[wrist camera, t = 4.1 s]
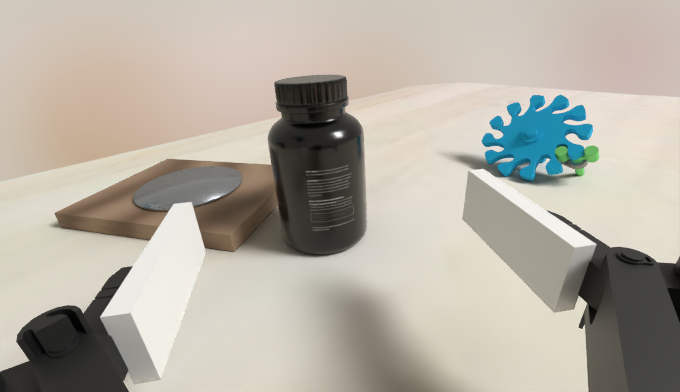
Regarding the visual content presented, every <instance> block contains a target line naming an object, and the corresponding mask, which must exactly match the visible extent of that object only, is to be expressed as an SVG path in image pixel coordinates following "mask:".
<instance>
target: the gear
mask: <svg viewBox="0 0 680 392" xmlns="http://www.w3.org/2000/svg"><path fill="white" fill-rule="evenodd" d="M544 104H545V99H544V96H540V95H533V96H532V97H531V98H530V107H529V109H528V110H527V111H526V113H525V114H524V115H522V116H518V114H519V113H520V112H521V106H520V104H519V103H513V104H510V105H508V106H507V110H508V112H509V114H510V115H511V116H512V120H511V123H510V124H509V125H508V126H503V124H504V123H503V120H502V118H501V117H500V116H497V117H495V118H494V119H492V120H491V121H490V125H491V127H492V128H493V129H495V130H499V131H501V132H502V133H503V134H504V135H503V137H502V138H500V139H495V138H494V137H493V135H492V134H490V133H486V134H485V136H484V137H483V139H482V143H483V145H484V146H486V147H490V146H500V147H503V148H504V150H503V151H501V152H496V151H493V150H488V151H486V153H485V157H486V160H487V162H488V164H493V163H495V162H496V161H498V160H500V159H503V158H514V159H513V161H511V162H505V163H501V164H499V165H498V166H497V167H498V169H499V171H500V173H501V174H502V175H503V176H505V177H507V176H509V175H510V174H511V173H512V171H513V170H514V169H515V168H516V167H517V166H518V165H520V164H522V163H524V162H531V163H530V165H528V166H527V167H524V168H522V169H521V170H520V173H519V174H520V176H521V178H522V179H525V180H530V181H533V180H534V179H535V177H536V174H535V170H536V167H537V165H538V164H539V163H542V162H544V161H545V160H546V158H549V159H551V160H550V161H549V162H548V163H547V165H546V170H547V173H548V174H549V175H555V174H559V173H562V172H563V168H562V164H563V165H566V166H568V167H570V168H573V169H575V172H576V175H579V176H582V175H584V167H585V166H586V165H587V164H588V162H595V161H597V160H598V159H599V151H598V148H597V147H596V146H588V147H587V148H585V150H584V147H583V146H581V145H577V144H573V143H571V142H569V141H568V140H567V139H566V138H565V136H566V135H568V134H570V133H574V134H576V135H577V136H578V137H579V139H581V140H588V139H589V138H590V137H591V135H592V132H593V126H592V125H591V124H583V125H568V124H565V123H563V122H564V121H566V120H569V119H571V120H575V121H583V120H585V119H586V113H585V109H584V107H583V105H579V106H576V107H574V108H573V109H571V110H570V111H567V112H564V113H560V114H552V113H553V112H554V111H557V110H563V109H566V108H567V107H568V106H569V101H568V99H567V98H566V97H564V96H562V95H559V96H557V97H556V98H555V99H554V101H553V102H552V103H551V104H550V105H549V106H548V107H547V108H545V109H543V110H541V111H538V112H536V111H535V110H537V109H538V108H540V107H542V106H543V105H544Z"/></svg>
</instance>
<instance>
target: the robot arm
mask: <svg viewBox="0 0 680 392" xmlns="http://www.w3.org/2000/svg"><path fill="white" fill-rule="evenodd" d="M463 220H464V221H465V222H466V223H467V224H468V225H469V226H470V227H471V228H472V229H473V230H474V231H475V232H476V233H477V234H478V235H479V236H480V237H481V238H482V239H483V240H484V241H485V243H486V244H487V245H488V246H489V247H490V248H491V249H492V250H493V251H494V252H495V253H496V254H497V255H498V256H499V257H500V258H501V259H502V260H503V261H504V262H505V263H506V264H507V265H508V266H509V267H510V268H511V269H512V270H513V271H514V272H515V273H516V274H517V275H518V276H519V277H520V278H521V279H522V280H523V281H524V282H525V283H526V284H527V285H528V286H529V287H530V288H531V290H532V291H533V292H534V293H535V294H536V295H537V296H538V297H539V298H540V299H541V300H542V301H543V302H544V303H545V304H546V305H547V306H548V307H549V308H550V309H551V310H552V311H553V312H560V311H566V310H572V309H574V307H575V304H576V302H577V299H578V296H580V297H581V298H582V299H583V300H585V301H586V302H587V306H586V308H585V311H584V314H583V316H582V319H581V322H580V324H579V327H578V328H581V329H582V328H583V326H584V325H585V332H586V350H587V369H588V387H589V392H680V257H679V259H678V261H677V263H676V264H673V263H658V262H656V261H655V260H654V259H653V258H651V257H650V256H648V255H647V254H644V253H642V252H640V251H637V250H633V249H630V248H624V247H612V248H610V247H609V246H607V245H606V244H604V243H603V242H601V241H600V240H598V239H596V238H595V237H593V236H592V235H590V234H589V233H587V232H586V231H584V230H581V228H579V227H578V226H576V225H575V224H572V222H570V221H569V220H567V219H566V218H564V217H562V216H560V215H558V214H555V213H553V212H550V211H546V210H544V209H543V208H541V207H540V206H538V205H537V204H535V203H534V202H532V201H531V200H529V199H528V198H526V197H525V196H523V195H522V194H520V193H519V192H517V191H516V190H514V189H513V188H511V187H510V186H508V185H507V184H505V183H504V182H502V181H501V180H499V179H498V178H496V177H495V176H493V175H492V174H490V173H489V172H487V171H486V170H484V169H478V170H469V172H468V180H467V188H466V195H465V203H464V211H463ZM205 254H206V251H205V247H204V244H203V240H202V237H201V233H200V230H199V226H198V223H197V219H196V216H195V212H194V209H193V205H192V202H186V203H177V204H173V206H172V207H171V209H170V210H169V212H168V213H167V215H166V216H165V218H164V219H163V221H162V223H161V224H160V226H159V227H158V229H157V230H156V232H155V233H154V235H153V236H152V238H151V240H150V241H149V243H148V244H147V246H146V247H145V249H144V250H143V252H142V253H141V255H140V256H139V258H138V260H137V261H136V263H135V264H134V266H132V267H124V268H121V269H120V270H119V271H117V272H116V273H115V274H114V275H112V276H111V277H110V278H109V279H108V280H107V282H106V283H105V284H104V286H103V287H102V290H101V291H99V293H98V294H97V296H96V297H95V300H93V301H92V303H91V304H90V305H89V307H88V308H87V310H86V311H85V312H84V314H83V313H82V311H81V309H80V308H78V307H77V306H69V305H67V306H62V307H57V308H54V309H52V310H49V311H47V312H44V313H43V314H41V315H39V316H37V317H36V318H34V319H32V320H31V321H30V322H29V323H28V324H26V325H25V326H24V327H23V328H22V329H21V331H20V332H19V333H18V335H17V341H16V342H17V343H18V345H19V346H20V348H21V349H22V350H23V352H24V353H25V355H26V356H27V358H28V359H29V360H30V361H28V362H25V363H23V364H20V365H17V366H14V367H12V368H9V369H6V370H3V371H1V372H0V392H129V391H128V389H127V388H126V386H125V384H124V383H123V381H124V379H125V377H126V374H127V372H128V373H129V375H130V377H131V379H132V381H133V383H134V384H138V383H144V382H150V381H156V380H161V378H162V375H163V372H164V369H165V367H166V364H167V361H168V358H169V355H170V352H171V350H172V347H173V344H174V341H175V338H176V336H177V333H178V330H179V327H180V324H181V321H182V319H183V316H184V313H185V310H186V307H187V305H188V302H189V299H190V296H191V293H192V290H193V288H194V285H195V282H196V279H197V276H198V274H199V271H200V268H201V265H202V262H203V259H204V257H205Z"/></svg>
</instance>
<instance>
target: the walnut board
mask: <svg viewBox="0 0 680 392" xmlns="http://www.w3.org/2000/svg"><path fill="white" fill-rule="evenodd" d="M186 202H192V205H193V209H194V212H195V216H196V219H197V223H198V226H199V230H200V233H201V237H202V240H203V244H204V247H205V248H211V249H219V250H226V251H233V252H234V251H235V250H236V249H237V248H238V247H239V246H240V245H241V244H242V243H243V242H244V241H245V240H246V238H247V237H248V236H249V235H250V234H251V233H252V232H253V231H254V230H255V229H256V228H257V227H258V226H259V225H260V224H261V222H262V221H263V220H264V219H265V218H266V217H267V216H268V215H269V214H270V213H271V212H272V211H273V210H274V209H275V208H276V207H277V205H278V201H277V195H276V189H275V183H274V176H273V170H272V165H264V164H247V163H229V162H212V161H194V160H177V159H167V160H165V161H162V162H160V163H158V164H156V165H154V166H152V167H150V168H148V169H146V170H144V171H142V172H139V173H137V174H135V175H133V176H131V177H129V178H127V179H125V180H123V181H121V182H119V183H116V184H114V185H112V186H110V187H108V188H106V189H104V190H102V191H100V192H98V193H95V194H93V195H91V196H89V197H87V198H85V199H83V200H81V201H79V202H77V203H75V204H72V205H70V206H68V207H66V208H64V209H62V210H60V211H58V212H56V213H55V215H56V217H57V219H58V221H59V223H60V225H61V227H62V228H69V229H76V230H83V231H90V232H98V233H105V234H112V235H119V236H126V237H133V238H140V239H147V240H151V238H152V236H153V235H154V233H155V232H156V230H157V229H158V227H159V226H160V224H161V223H162V221H163V219H164V218H165V216H166V215H167V213H168V212H169V210H170V209H171V207H172V206H173V204H177V203H186Z"/></svg>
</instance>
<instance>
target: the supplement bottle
mask: <svg viewBox="0 0 680 392" xmlns="http://www.w3.org/2000/svg"><path fill="white" fill-rule="evenodd" d="M275 93H276V99H277V102H276V108H277V111H279V112H281V114H282V118H281V119H280V120H278V121H277V122H276V123H275V124H274V125H273V126H272V128H271V129H270V132H269V135H268V145H269V152H270V158H271V164H272V170H273V176H274V183H275V189H276V195H277V201H278V207H279V213H280V219H281V224H282V230H283V234H284V238H285V239H286V241H287V242H288V243H289V244H290V245H291V246H292V247H293V248H295V249H297V250H299V251H302V252H305V253H309V254H331V253H336V252H340V251H343V250H346V249H348V248H350V247H352V246H353V245H355V244H356V243H358V242H359V241H360V240H361V238H362V237H363V236H364V234H365V231H366V227H367V212H366V183H365V154H364V133H363V128H362V126H361V124H360V123H359V121H358V120H357V119H356V118H355V117H353V116H351V115H350V114H348V113H346V112H345V107H346V106H347V105H348V104H349V100H348V96H347V80H346V77H345V76H341V75H312V76H302V77H293V78H287V79H282V80H278V81H276V82H275Z"/></svg>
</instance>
